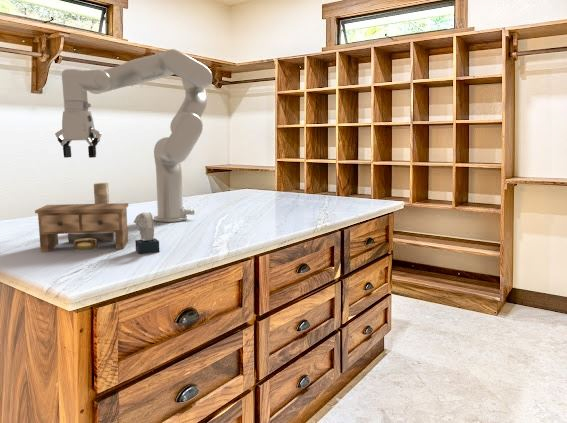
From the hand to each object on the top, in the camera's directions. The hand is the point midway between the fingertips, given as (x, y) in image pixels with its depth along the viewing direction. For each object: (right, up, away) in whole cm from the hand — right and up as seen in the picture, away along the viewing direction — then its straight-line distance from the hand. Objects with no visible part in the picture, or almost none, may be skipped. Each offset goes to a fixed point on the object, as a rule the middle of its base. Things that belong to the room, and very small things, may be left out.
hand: (80, 157), depth 165 cm
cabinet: (+13, -29, -26) cm, 41 cm away
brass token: (+13, -30, -27) cm, 42 cm away
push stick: (+10, -26, -9) cm, 30 cm away
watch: (+32, -30, -32) cm, 54 cm away
